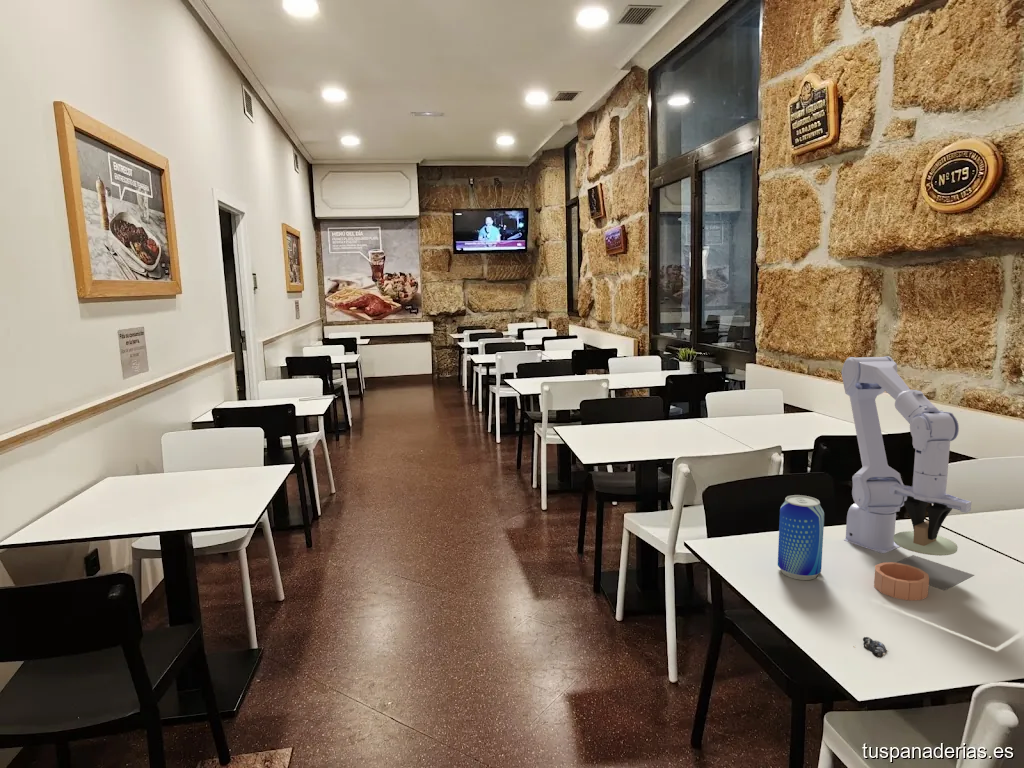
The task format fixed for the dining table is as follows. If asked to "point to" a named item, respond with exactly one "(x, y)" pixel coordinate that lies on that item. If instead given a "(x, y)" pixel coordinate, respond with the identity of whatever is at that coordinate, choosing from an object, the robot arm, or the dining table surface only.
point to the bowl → (901, 581)
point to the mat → (937, 572)
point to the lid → (924, 541)
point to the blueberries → (874, 647)
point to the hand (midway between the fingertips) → (925, 536)
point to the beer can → (800, 537)
